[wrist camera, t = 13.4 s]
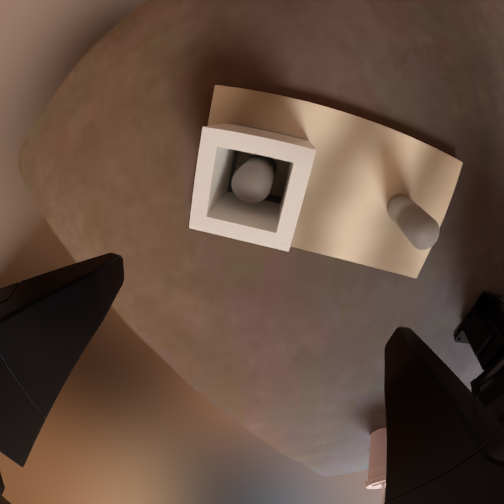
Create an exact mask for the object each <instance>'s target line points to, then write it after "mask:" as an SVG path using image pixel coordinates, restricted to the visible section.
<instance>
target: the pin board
mask: <svg viewBox="0 0 504 504" xmlns="http://www.w3.org/2000/svg"><path fill="white" fill-rule="evenodd" d="M226 123H235V124H240V125H246V126H251V127H256V128H261V129H266V130H271V131H276V132H280V133H284V134H289V135H293V136H297V137H301V138H305V139H309V141H310V142H311V144H312V145H313V146H314V148H315V149H316V153H315V157H314V161H313V165H312V169H311V173H310V176H309V180H308V184H307V188H306V191H305V195H304V199H303V203H302V206H301V210H300V213H299V217H298V221H297V224H296V228H295V231H294V235H293V238H292V242H291V245H290V246H291V247H295V248H299V249H303V250H307V251H311V252H315V253H319V254H323V255H327V256H331V257H335V258H339V259H343V260H347V261H351V262H355V263H359V264H363V265H366V266H370V267H374V268H378V269H382V270H386V271H390V272H393V273H397V274H401V275H405V276H409V277H412V278H417V276H418V274H419V272H420V270H421V268H422V266H423V264H424V262H425V260H426V258H427V256H428V253H429V251H430V249H431V247H432V246H433V245H434V244H435V243H436V241H437V239H438V237H439V232H440V226H441V224H442V221H443V219H444V216H445V214H446V211H447V209H448V206H449V203H450V200H451V198H452V195H453V192H454V189H455V186H456V183H457V180H458V177H459V174H460V171H461V167H462V164H463V162H461V161H459V160H457V159H456V158H454V157H452V156H450V155H448V154H446V153H444V152H442V151H440V150H438V149H436V148H434V147H432V146H430V145H428V144H426V143H423V142H421V141H419V140H417V139H415V138H412V137H410V136H408V135H405V134H403V133H401V132H398V131H396V130H393V129H391V128H388V127H386V126H383V125H380V124H378V123H375V122H372V121H369V120H367V119H364V118H361V117H358V116H355V115H352V114H349V113H346V112H342V111H339V110H336V109H332V108H329V107H325V106H322V105H318V104H314V103H311V102H307V101H303V100H299V99H294V98H290V97H286V96H281V95H276V94H271V93H266V92H261V91H255V90H249V89H243V88H236V87H229V86H221V85H215V88H214V93H213V98H212V104H211V109H210V114H209V120H208V126H211V125H218V124H226ZM289 164H290V162H288V161H284V160H279V159H275V158H271V157H266V156H262V155H257V154H252V153H247V152H242V151H238V156H237V161H236V167H235V172H234V175H233V177H232V182H231V185H232V190H233V192H234V194H235V195H236V196H237V197H238V198H239V199H240V200H242V201H244V202H246V203H258V202H260V201H262V200H264V199H265V198H266V197H267V196H268V194H271V195H275V196H279V197H282V193H283V189H284V185H285V181H286V177H287V173H288V169H289Z"/></svg>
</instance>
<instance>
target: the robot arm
mask: <svg viewBox="0 0 504 504" xmlns="http://www.w3.org/2000/svg"><path fill="white" fill-rule="evenodd" d="M123 281H124V268H123V258H122V257H121V256H120V255H117V254H114V253H108V254H105V255H101V256H98V257H95V258H91V259H88V260H85V261H82V262H78V263H75V264H72V265H69V266H66V267H62V268H60V269H56V270H53V271H50V272H47V273H44V274H41V275H38V276H35V277H32V278H30V279H26V280H23V281H21V282H20V283H19V282H17V283H14V284H11V285H9V286H6V287H3V288H0V452H2V453H3V454H4V455H6V456H7V457H9V458H10V459H11V460H12V461H14V462H15V463H17V464H18V465H20V466H21V467H23V466H24V465H25V463H26V460H27V457H28V456H29V453H30V451H31V449H32V446H33V444H34V442H35V440H36V438H37V436H38V434H39V432H40V429H41V427H42V426H43V424H44V422H45V418H46V417H47V415H48V413H49V411H50V410H51V408H52V405H53V404H54V402H55V400H56V398H57V396H58V394H59V393H60V391H61V389H62V387H63V385H64V384H65V382H66V380H67V378H68V377H69V375H70V373H71V371H72V370H73V368H74V366H75V365H76V363H77V361H78V360H79V358H80V356H81V355H82V353H83V351H84V350H85V348H86V347H87V345H88V343H89V342H90V340H91V339H92V337H93V336H94V334H95V332H96V331H97V329H98V328H99V326H100V325H101V323H102V321H103V320H104V318H105V316H106V314H107V312H108V311H109V308H110V306H111V305H112V303H113V301H114V299H115V297H116V295H117V293H118V292H119V290H120V288H121V286H122V284H123ZM454 339H455V341H456V342H460V343H468V344H470V346H471V348H472V350H473V352H474V354H475V355H476V357H477V359H478V361H479V363H480V365H481V367H482V369H483V370H484V371H483V372H482V373H481V374H480V375H479V376H478V377H477V378H476V379H474V380H472V381H471V382H470V383H471V388H472V389H471V391H472V392H471V391H470V390H469V389H468V388H467V387H466V386H465V385H464V384H463V382H462V381H461V380H460V379H459V378H458V377H457V376H456V375H455V374H454V373H453V372H452V371H451V370H450V368H449V367H448V366H447V365H446V364H445V363H444V362H443V361H442V360H441V359H440V358H439V357H438V356H437V355H436V354H435V353H434V352H433V351H432V350H431V349H430V348H429V347H428V346H427V345H426V344H425V343H424V342H423V341H422V340H421V339H420V338H419V337H418V336H417V335H416V334H415V333H414V332H413V331H412V330H411V329H410V328H408V327H402V326H400V327H398V328H397V329H396V330H395V331H394V333H393V335H392V336H391V338H390V339H389V341H388V342H387V344H386V346H385V381H384V391H385V409H386V437H387V460H386V487H385V502H384V504H504V297H502V296H499V295H496V294H492V293H489V292H484V293H483V294H482V295H481V297H480V299H479V300H478V302H477V303H476V305H475V307H474V308H473V310H472V311H471V313H470V315H469V316H468V318H467V319H466V321H465V322H464V324H463V325H462V327H461V328H460V329H459V331H458V332H457V334H456V335H455V337H454ZM4 488H5V487H4V484H3V480H2V477H1V473H0V504H11V503H10V502H8V501H7V500H6V499H5V498H4V497H3V496H2V493H3V491H4Z"/></svg>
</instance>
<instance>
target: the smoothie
mask: <svg viewBox="0 0 504 504" xmlns="http://www.w3.org/2000/svg"><path fill="white" fill-rule="evenodd" d="M386 460H387V437H386V428H381V429H378V430H375V431H374V432H372V433H371V439H370V457H369V471H368V481H366V488H367V489H378V488H382V504H384V502H385V487H386Z"/></svg>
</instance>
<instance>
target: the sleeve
mask: <svg viewBox="0 0 504 504" xmlns="http://www.w3.org/2000/svg"><path fill="white" fill-rule="evenodd" d="M238 151H242V152H247V153H252V154H257V155H262V156H266V157H271V158H275V159H279V160H284V161H288V162H290V164H289V169H288V173H287V177H286V181H285V185H284V189H283V193H282V197H279V196H275V195H271V194H268V196H267V197H266V198H265V199H264V200H262V201H260V202H258V203H246V202H244V201H242V200H240V199H239V198H238V197H237V196H236V195H235V194H234V192H233V190H232V185H231V182H232V177H233V175H234V172H235V167H236V161H237V156H238ZM315 153H316V149H315V148H314V146H313V145H312V144H311V142H310V141H309V139H305V138H301V137H297V136H293V135H289V134H284V133H280V132H276V131H271V130H266V129H261V128H256V127H251V126H246V125H240V124H235V123H226V124H218V125H211V126H204V127H203V128H202V134H201V140H200V146H199V153H198V160H197V167H196V174H195V182H194V189H193V198H192V206H191V215H190V224H189V228H191V229H195V230H199V231H204V232H208V233H212V234H216V235H221V236H225V237H229V238H233V239H237V240H242V241H246V242H250V243H254V244H258V245H263V246H267V247H271V248H275V249H279V250H283V251H287V252H289V249H290V245H291V242H292V238H293V235H294V231H295V228H296V224H297V221H298V217H299V213H300V210H301V206H302V203H303V199H304V195H305V191H306V188H307V184H308V180H309V176H310V173H311V169H312V165H313V161H314V157H315Z"/></svg>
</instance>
